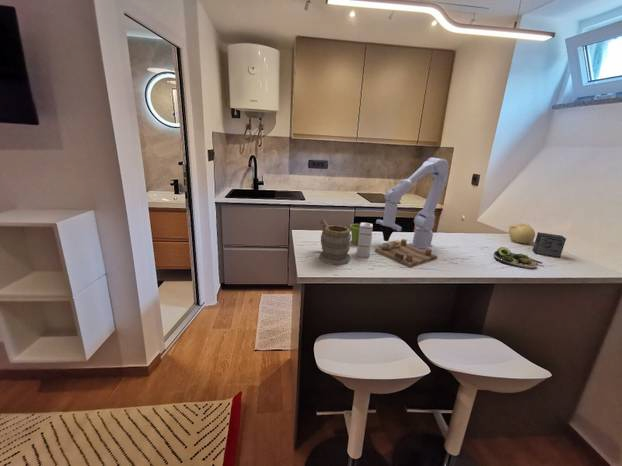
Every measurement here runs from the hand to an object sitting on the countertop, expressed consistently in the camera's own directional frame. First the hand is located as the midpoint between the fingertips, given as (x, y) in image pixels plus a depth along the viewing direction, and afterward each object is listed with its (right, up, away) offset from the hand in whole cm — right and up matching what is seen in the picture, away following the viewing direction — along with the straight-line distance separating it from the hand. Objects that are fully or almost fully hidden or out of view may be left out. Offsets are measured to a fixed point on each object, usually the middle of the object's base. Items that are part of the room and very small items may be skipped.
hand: (385, 240), depth 146 cm
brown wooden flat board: (+7, -6, -10) cm, 13 cm away
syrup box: (-14, -6, -12) cm, 19 cm away
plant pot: (-14, -1, +3) cm, 14 cm away
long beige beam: (+1, -3, -6) cm, 7 cm away
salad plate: (+58, -10, -8) cm, 60 cm away
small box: (+83, -7, +3) cm, 84 cm away
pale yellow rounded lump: (+82, -1, +21) cm, 85 cm away
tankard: (-29, -6, -16) cm, 34 cm away
